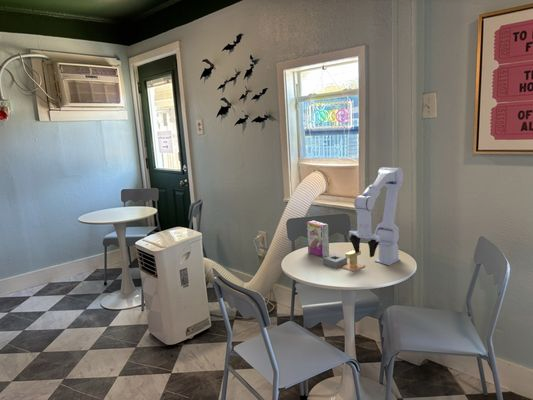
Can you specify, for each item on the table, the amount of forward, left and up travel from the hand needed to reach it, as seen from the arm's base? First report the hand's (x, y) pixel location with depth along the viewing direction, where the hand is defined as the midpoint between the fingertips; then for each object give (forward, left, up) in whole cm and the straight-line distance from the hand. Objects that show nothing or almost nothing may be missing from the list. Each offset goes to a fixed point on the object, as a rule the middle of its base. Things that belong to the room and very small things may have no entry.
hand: (364, 254), depth 166 cm
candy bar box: (-7, -33, -10) cm, 35 cm away
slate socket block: (-2, -18, -9) cm, 20 cm away
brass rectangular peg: (-4, -9, -9) cm, 13 cm away
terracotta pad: (-4, -9, -9) cm, 14 cm away
